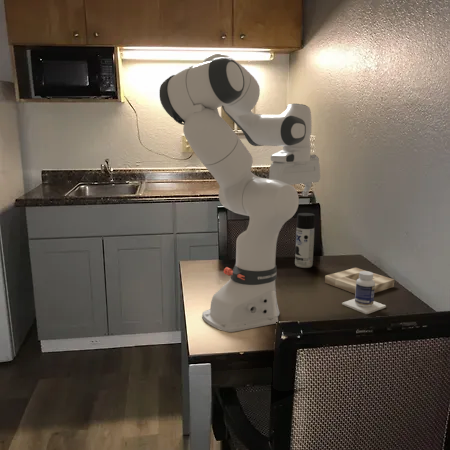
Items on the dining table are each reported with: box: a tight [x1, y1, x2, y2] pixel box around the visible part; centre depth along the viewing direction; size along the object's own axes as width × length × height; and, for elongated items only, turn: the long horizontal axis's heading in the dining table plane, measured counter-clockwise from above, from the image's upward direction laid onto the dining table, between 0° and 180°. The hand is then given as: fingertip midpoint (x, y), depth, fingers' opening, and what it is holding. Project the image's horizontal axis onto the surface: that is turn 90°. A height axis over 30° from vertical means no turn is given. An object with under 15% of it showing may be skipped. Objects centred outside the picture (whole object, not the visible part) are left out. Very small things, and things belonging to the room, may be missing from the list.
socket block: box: [324, 267, 395, 295], centre depth 159 cm, size 16×16×2 cm
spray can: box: [294, 212, 316, 269], centre depth 178 cm, size 7×7×20 cm
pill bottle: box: [354, 270, 375, 307], centre depth 140 cm, size 5×5×10 cm
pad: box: [341, 298, 387, 315], centre depth 141 cm, size 9×9×1 cm
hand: (294, 197), depth 157 cm, fingers open, 8 cm apart
